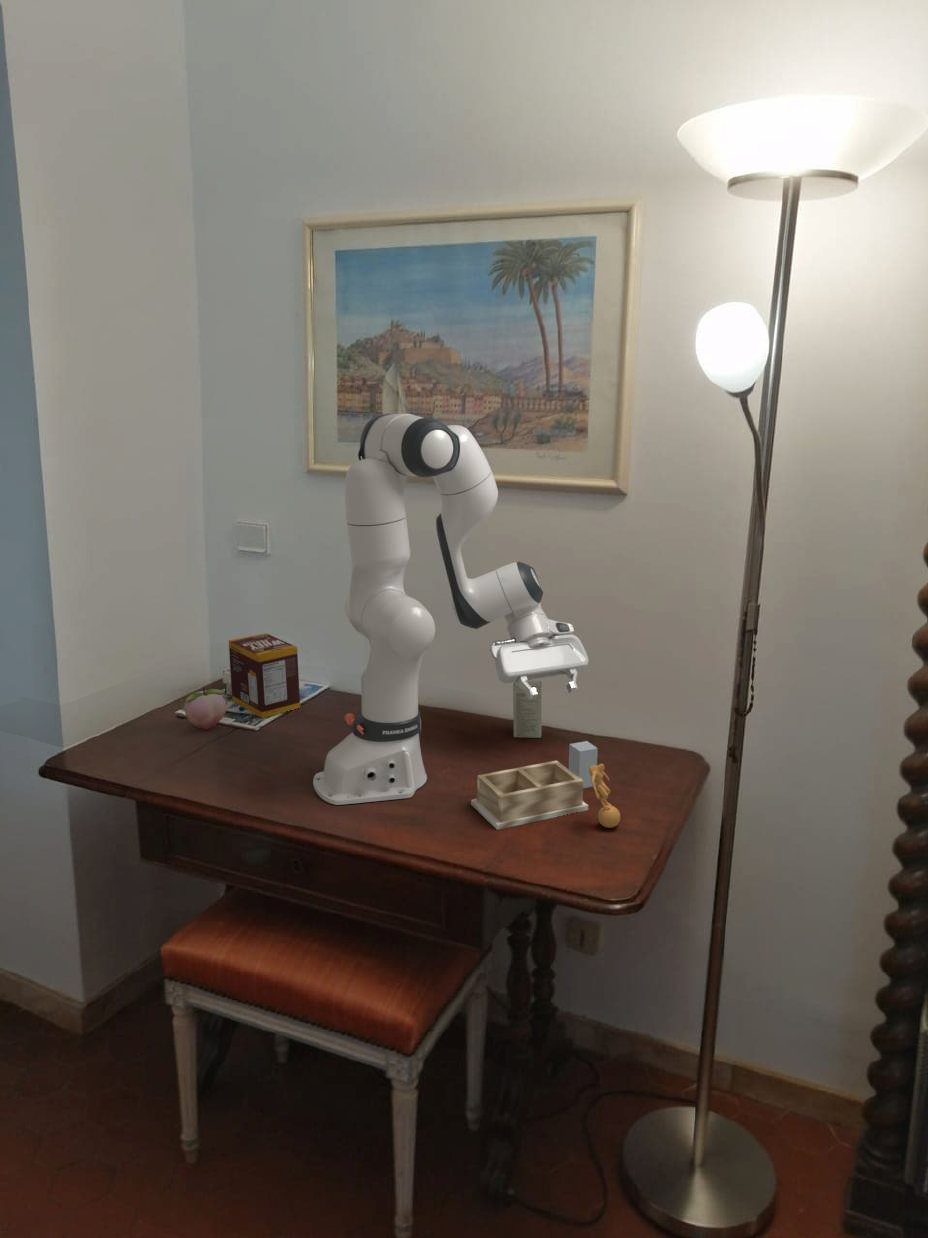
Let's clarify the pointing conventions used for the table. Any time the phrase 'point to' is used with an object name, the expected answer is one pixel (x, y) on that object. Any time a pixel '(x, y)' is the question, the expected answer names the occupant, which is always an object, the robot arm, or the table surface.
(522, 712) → the skincare box
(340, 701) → the table surface
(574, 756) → the grey peg
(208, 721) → the decorative fruit
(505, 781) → the wooden divided tray
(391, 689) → the robot arm
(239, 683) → the supplement box
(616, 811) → the figurine
